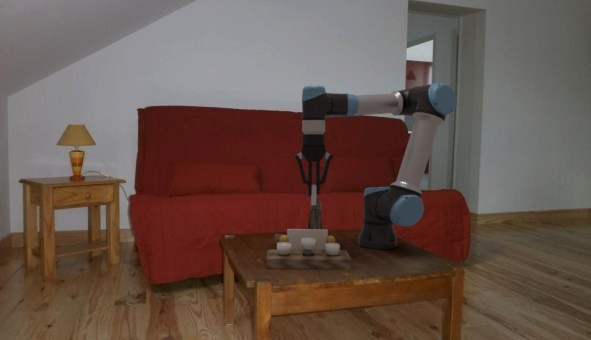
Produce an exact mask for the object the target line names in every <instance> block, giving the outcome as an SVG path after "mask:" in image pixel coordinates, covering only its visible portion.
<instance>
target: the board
mask: <svg viewBox="0 0 591 340" xmlns="http://www.w3.org/2000/svg"><path fill="white" fill-rule="evenodd" d="M265 265H266V267H265V268H266V269H292V270H293V269H299V270H301V269H302V270H303V269H305V270H309V269H310V270H312V269H313V270H316V269H317V270H319V269H320V270H352V258H351V256H350V255H349V252H348V251H347V250H346V249H344V250H343V249H340V254H339V255H336V256H329V255H327V254H325V250H312V256H305V250H291V254H288V256H280V254H277V249H273V248H272V249H267V254H266V264H265Z"/></svg>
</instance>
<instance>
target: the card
mask: <svg viewBox="0 0 591 340" xmlns="http://www.w3.org/2000/svg"><path fill="white" fill-rule="evenodd" d="M281 235H282V236H281V237H280V242H288V243H291V250H305V249H302V248H301V238H304V237H311V238H315V239H316V248H315V249H312V250H325V244H326V243H336V237H334V235H329V230H328V229H324V228H323V229H307V228H306V229H305V228H287V230H286V234H281Z"/></svg>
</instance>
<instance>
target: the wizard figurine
mask: <svg viewBox="0 0 591 340" xmlns="http://www.w3.org/2000/svg"><path fill="white" fill-rule="evenodd" d="M306 196H308V197H310V198H311V195H309V194H308V189H307V191H306ZM309 206H310V209H309V213H308V223H307V228H306V229H324V228H323V227H324V226H323V215H322V210H323V207H322V203H321V201H320V199H319V197H318V195H316V205H311V201H310V203H309Z"/></svg>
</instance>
